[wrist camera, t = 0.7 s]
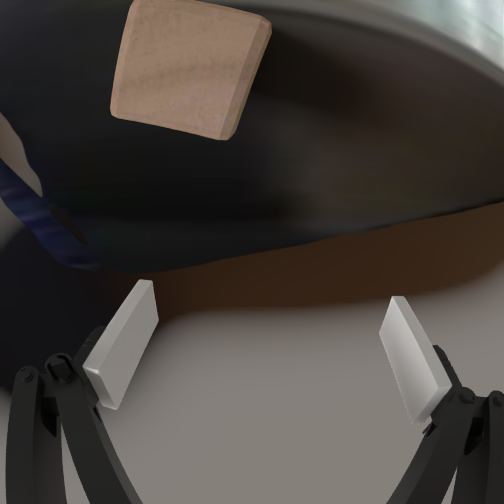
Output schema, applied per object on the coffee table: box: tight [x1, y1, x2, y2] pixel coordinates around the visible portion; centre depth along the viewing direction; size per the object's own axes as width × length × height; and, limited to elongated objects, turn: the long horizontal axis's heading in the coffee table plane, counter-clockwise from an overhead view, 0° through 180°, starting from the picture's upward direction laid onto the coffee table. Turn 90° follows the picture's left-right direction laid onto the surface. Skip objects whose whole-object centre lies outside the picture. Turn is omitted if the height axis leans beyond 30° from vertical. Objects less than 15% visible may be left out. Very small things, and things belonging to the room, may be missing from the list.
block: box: [110, 0, 272, 140], centre depth 23 cm, size 10×10×20 cm
